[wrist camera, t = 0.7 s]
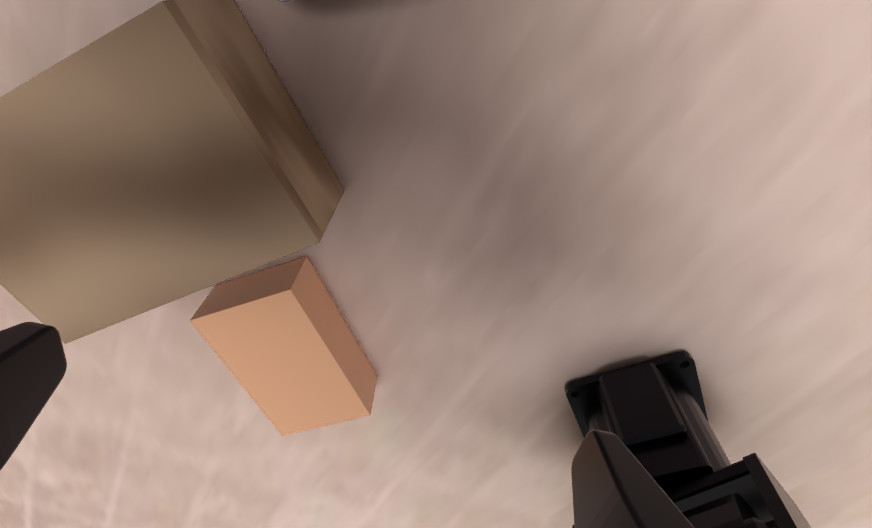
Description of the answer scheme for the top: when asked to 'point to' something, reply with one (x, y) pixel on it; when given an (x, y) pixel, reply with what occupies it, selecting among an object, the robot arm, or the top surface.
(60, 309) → the shelf
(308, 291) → the peach cardboard box
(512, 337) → the top surface
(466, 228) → the top surface
